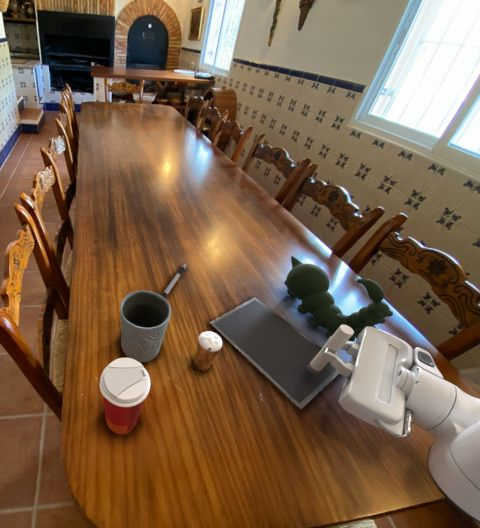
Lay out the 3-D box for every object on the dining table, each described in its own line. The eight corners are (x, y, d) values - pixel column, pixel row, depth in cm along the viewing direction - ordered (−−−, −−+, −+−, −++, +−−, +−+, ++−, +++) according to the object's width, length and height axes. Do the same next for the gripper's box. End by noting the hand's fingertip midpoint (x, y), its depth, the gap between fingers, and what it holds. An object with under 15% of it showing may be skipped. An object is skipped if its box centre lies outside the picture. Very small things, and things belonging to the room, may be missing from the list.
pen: (159, 298, 77) (160, 295, 76) (183, 264, 88) (184, 261, 87) (164, 300, 76) (165, 297, 75) (187, 266, 88) (188, 263, 87)
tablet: (344, 368, 64) (346, 366, 63) (299, 411, 56) (301, 409, 56) (253, 298, 79) (254, 296, 78) (208, 324, 71) (209, 322, 71)
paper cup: (134, 392, 57) (141, 349, 48) (148, 433, 52) (159, 394, 43) (94, 403, 55) (94, 361, 46) (105, 447, 49) (106, 409, 40)
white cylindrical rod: (321, 371, 60) (356, 331, 52) (315, 376, 59) (350, 336, 51) (311, 362, 62) (343, 322, 53) (305, 367, 61) (337, 327, 52)
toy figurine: (356, 351, 70) (291, 275, 87) (418, 302, 56) (327, 223, 73) (324, 359, 68) (264, 279, 84) (380, 309, 54) (296, 226, 71)
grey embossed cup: (128, 371, 60) (132, 335, 53) (110, 333, 67) (112, 296, 60) (171, 355, 64) (181, 319, 56) (150, 321, 71) (156, 284, 63)
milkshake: (187, 372, 61) (198, 343, 55) (192, 351, 65) (202, 322, 59) (209, 380, 60) (223, 352, 54) (213, 359, 64) (226, 330, 57)
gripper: (396, 452, 45) (302, 393, 52) (406, 364, 58) (330, 326, 64) (424, 436, 41) (320, 374, 48) (428, 345, 54) (345, 306, 60)
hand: (325, 346), depth 56 cm, fingers closed on white cylindrical rod, 2 cm apart
